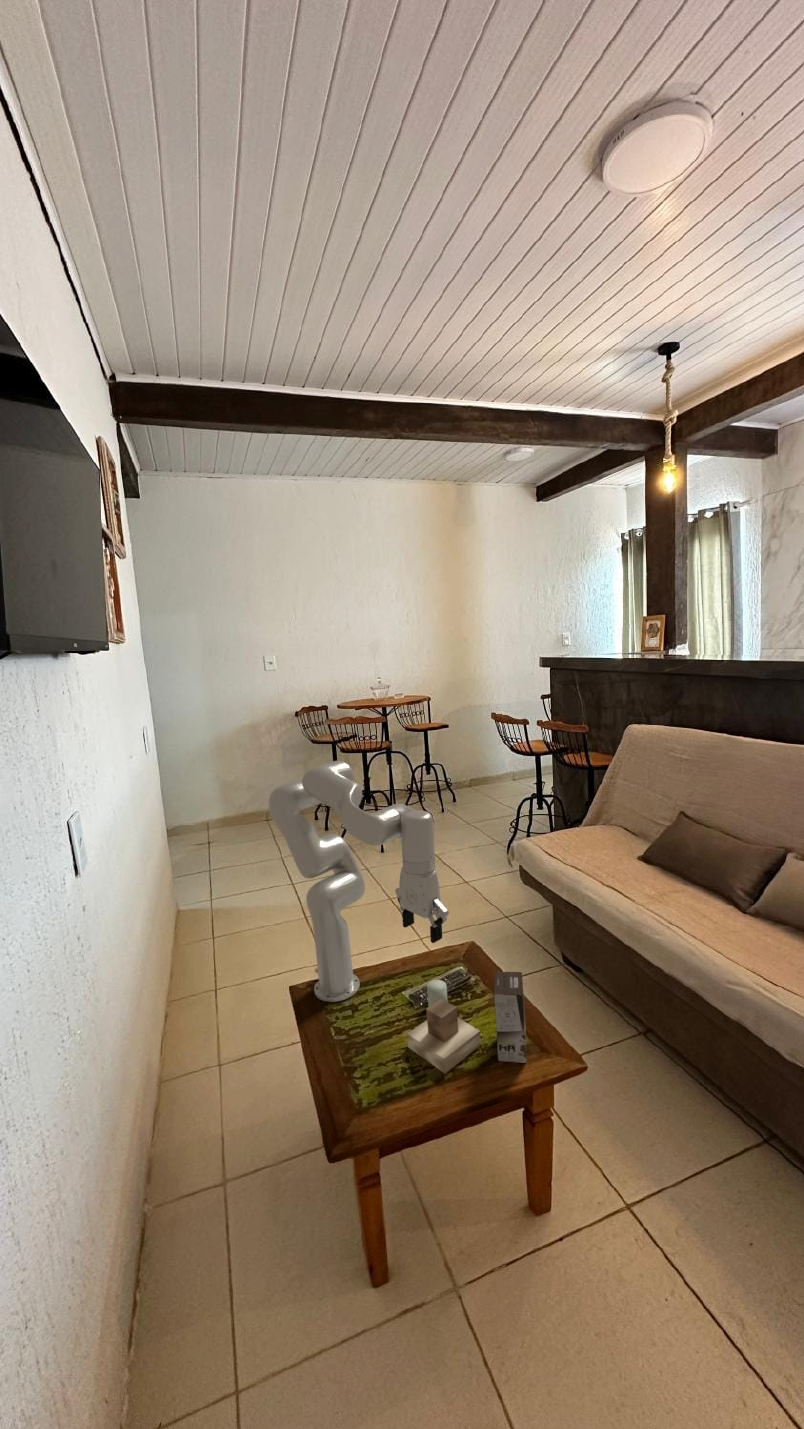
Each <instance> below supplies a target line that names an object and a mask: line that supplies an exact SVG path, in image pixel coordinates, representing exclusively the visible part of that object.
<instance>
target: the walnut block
mask: <svg viewBox="0 0 804 1429" xmlns="http://www.w3.org/2000/svg"><path fill="white" fill-rule="evenodd" d="M425 1011H426V1020H427V1024H428V1033H429V1034H431V1035H433V1036H434V1037H436V1038H437V1039H439V1040H440V1041H442V1042H443V1043H444V1042H445V1041H447V1040H448V1039H449V1038H451V1037H452V1036H453V1035H455V1034H456V1033H457V1032H458V1031H459V1030H458V1018H459V1017H458V1007H457V1006H455V1005H453V1004H451V1003H450V1002H446V1001H445V1000H443V999H440V1000H438V1001H437V1002H435V1003H434V1004H432V1005H431V1006H430V1007H429V1006H428V1007H426V1010H425ZM457 1017H458V1018H457Z"/></svg>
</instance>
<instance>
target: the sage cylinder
mask: <svg viewBox="0 0 804 1429" xmlns="http://www.w3.org/2000/svg"><path fill="white" fill-rule="evenodd" d="M447 989H448V988H447V983H446V982H445V981H443V980H440V979H433V980H431V981H429V982H428V983H427V984H426V990H427V1003H428V1007H430V1006H431V1005H432V1004H434V1003H435V1002H437V1001H438V1000H440V999H443V1000H445V1001H446V1002H448V990H447ZM448 1003H449V1002H448Z"/></svg>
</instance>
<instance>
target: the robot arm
mask: <svg viewBox="0 0 804 1429" xmlns="http://www.w3.org/2000/svg"><path fill="white" fill-rule="evenodd" d="M354 780H355V775H354V772H353V769H352V767H351V766H350V765H349V764H348V763H346V762H345V761H343V760H334V761H329V762H326V763H323V764H319V765H315V766H312V767H311V768H309V769H308V770H307V771H306V772H305V773H304V774H303V777H302V778H300V779H295V780H292V781H291V780H290V781H289V782H286V783H283V784H281V785H279V786H277V787H276V788H274V790H272V791H271V793H270V795H269V798H268V799H269V800H268V810H269V813H270V816H271V819H272V820H273V823H274V824H275V825H276V827H277V829H278V830H279V831H280V833H281V834H282V835H283V837H284V839H285V842H286V845H287V847H288V849H289V852H290V854H291V856H292V858H293V860H294V863H295V865H296V867H297V870H298V871H299V873H300V874H301V876H302V877H303V878H305V879H308V880H310V879H315V878H317V877H319V876H322V875H324V874H326V873H328V872H331V871H332V872H333V874H332V875H329V876H328V877H325V878H323V879H321V880H319V881H317V882H316V883H315V884H313V885H312V886H311V887H310V888H309V889H308V891H307V893H306V897H305V900H306V907H307V909H308V912H309V916H310V919H311V924H312V931H313V937H314V947H315V955H316V956H315V957H316V966H317V967H315V969H314V973H316V974H317V976H318V980H319V981H318V980H317V981H318V982H317V981H316V983H315V985H314V988H313V990H314V991H313V992H314V995H315V996H316V998H318V999H319V1000H321V1001H323V1002H327V1003H336V1002H340V1001H345V1000H347V999H349V998H351V997H353V996H354V995H355V994H356V993H357V992H358V991H359V989H360V979H359V977H358V976H357V975H356V974H354V971H353V962H352V953H351V951H352V950H351V940H350V931H349V924H348V923H347V921H346V919H345V918H344V917H343V916H342V915H341V911H342V910H344V909H346V908H347V907H349V906H351V905H353V904H354V903H356V902H357V901H359V900H361V898H363V896H364V895H365V891H366V884H365V880H364V877H363V875H362V872H361V870H360V868H359V865H358V864H357V863H358V862H356V859H355V857H354V854H353V853H352V851H351V848H350V846H349V844H348V843H347V841H346V840H345V839H344V838H343V837H341V836H340V835H339V834H334V833H332V834H330V833H329V834H326V835H324V836H322V837H320V836H319V835H318V834H317V832H316V829H315V826H314V824H313V823H312V822H311V821H310V820H309V819H308V818H307V817H306V816H304V815H303V814H301V813H299V812H300V811H303V810H306V809H309V808H312V807H315V806H319V805H321V804H324V805H326V806H327V807H329V808H331V809H333V810H334V811H337V812H338V813H339V814H338V815H339V817H340V821H341V824H342V825H343V828H344V829H345V830H346V831H347V832H348V833H349V834H350V835H351V836H352V837H354V838H356V839H358V840H359V841H361V842H363V843H364V844H367V845H370V846H373V847H374V846H377V847H379V846H382V845H384V844H387V843H389V842H391V841H393V840H396V838H397V839H398V838H401V854H402V856H401V858H402V867H401V869H400V873H399V886H398V887H397V888H395V889H394V890H395V891H394V892H395V894H396V897H397V902H398V904H399V905H400V906H399V909H400V911H401V912H402V914H401V915H402V917H401V918H402V926H403V928H408V927H410V926H411V925H414V924H415V915H416V916H418V917H420V918H423V919H428V921H429V922H430V925H431V926H430V927H429V932H430V933H429V934H430V935H429V936H430V943H432V944H435V943H437V942H439V941H440V940H442V938H443V924H444V923H445V922H446V921H447V918H448V916H449V914H450V913H449V909H447V908H446V907H445V905H444V904H443V903H442V902H441V891H440V884H439V878H438V873H437V871H436V853H435V836H434V835H435V832H434V830H435V829H434V828H435V827H434V817H433V816H432V814H431V813H430V812H428V811H427V810H426V811H425V810H419V809H417V810H416V809H414V808H412V807H410V806H408V805H406V804H403V803H394V804H392V805H389V806H387V807H384V808H381V809H379V810H376V811H374V812H372V813H369V812H366V811H364V810H363V809H361V808H359V806H360V804H361V801H362V799H363V789H362V787H361V785H359V784H358V783H357V782H355V781H354ZM434 916H435V917H436V919H435V917H434Z"/></svg>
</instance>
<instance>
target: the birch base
mask: <svg viewBox="0 0 804 1429" xmlns="http://www.w3.org/2000/svg"><path fill="white" fill-rule="evenodd" d="M457 1018H458V1030H459V1031H458V1032H457V1033H456V1034H455V1035H453V1036H452V1037H451V1038H449V1039H448V1040H447V1041H445V1042H444V1043H443V1042H442V1041H440V1040H439V1039H437V1038H436V1037H434V1036H433V1035H431V1034H429V1033H428V1024H427V1019H425V1021H423V1022H421V1023H420V1024H419V1025H417V1026H416V1027H414V1028H413V1029H411V1030H410V1031H409V1032H407V1033H406V1035H407V1036H406V1037H407V1046H408V1048H409V1049H410V1050H411V1051H412V1052H414V1053H416V1054H417V1055H418V1056H420V1057H421V1058H423V1059H424V1060H425V1061H426V1062H428V1063H429V1064H431V1065H432V1066H434V1067H435V1068H436V1069H438V1070H439V1071H441V1072H442V1073H444V1074H445V1075H446V1074H447V1073H448V1072H449V1071H450V1070H452V1069H453V1068H454V1067H456V1066H457V1065H458V1064H460V1062H462V1061H463V1060H465V1058H467V1057H469V1055H471V1054H472V1053H473V1052H474V1051H476V1049H478V1048H479V1047H481V1046H482V1041H481V1040H482V1038H481V1030H479V1029H478V1028H476V1027H474V1026H473V1025H471V1024H469V1023H468V1022H466V1021H465V1020H463V1019H461V1018H459V1017H458V1016H457Z"/></svg>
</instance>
